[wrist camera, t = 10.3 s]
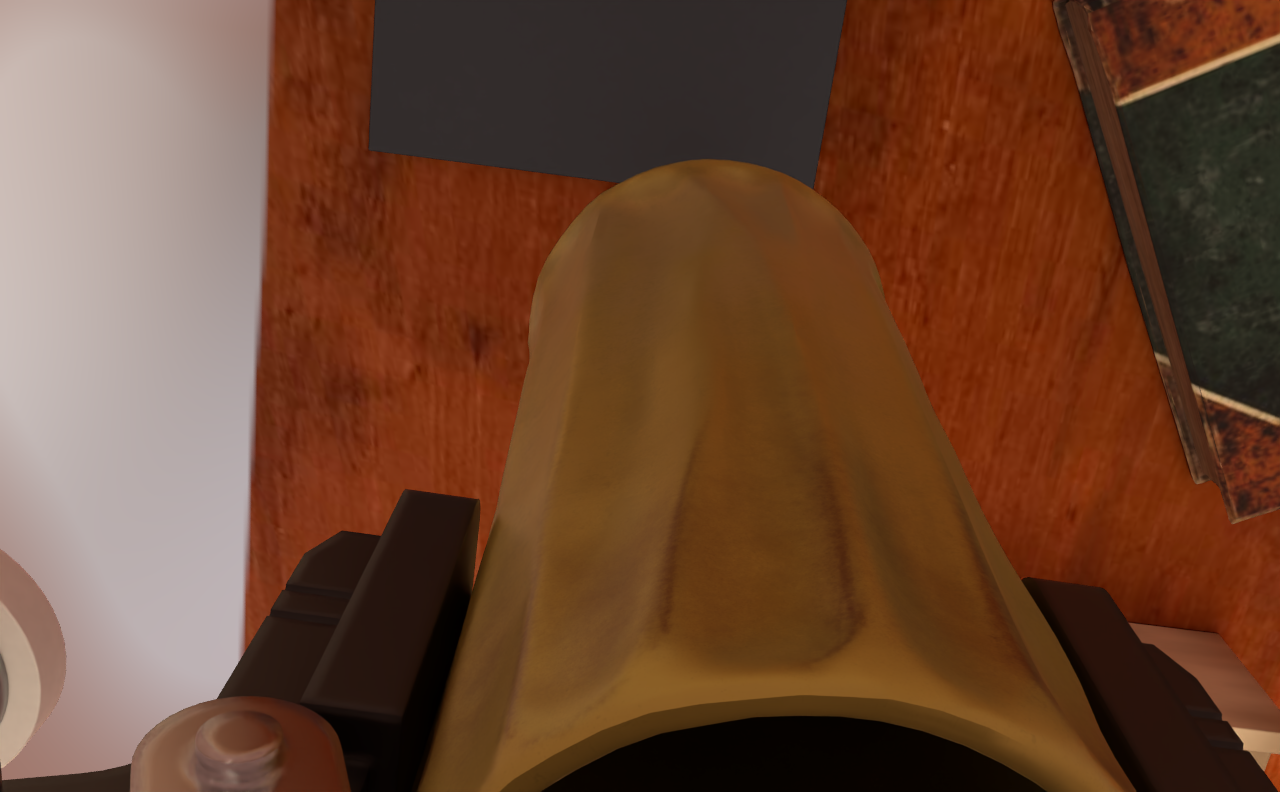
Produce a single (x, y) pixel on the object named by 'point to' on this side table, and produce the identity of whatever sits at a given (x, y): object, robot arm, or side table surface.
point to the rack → (1223, 684)
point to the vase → (742, 533)
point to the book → (1197, 212)
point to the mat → (605, 83)
